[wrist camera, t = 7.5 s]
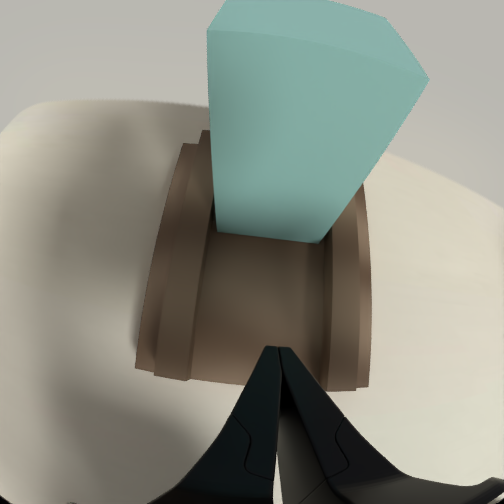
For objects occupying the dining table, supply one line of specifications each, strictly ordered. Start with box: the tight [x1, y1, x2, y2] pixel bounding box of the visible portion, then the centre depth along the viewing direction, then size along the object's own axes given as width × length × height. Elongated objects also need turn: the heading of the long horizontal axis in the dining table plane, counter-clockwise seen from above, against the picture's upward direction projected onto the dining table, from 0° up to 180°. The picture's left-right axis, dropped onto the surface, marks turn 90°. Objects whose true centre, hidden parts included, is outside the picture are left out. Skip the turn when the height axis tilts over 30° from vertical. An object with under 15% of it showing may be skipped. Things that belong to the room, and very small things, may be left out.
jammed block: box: [207, 0, 429, 244], centre depth 12 cm, size 5×6×12 cm
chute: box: [135, 130, 372, 392], centre depth 15 cm, size 15×13×5 cm
